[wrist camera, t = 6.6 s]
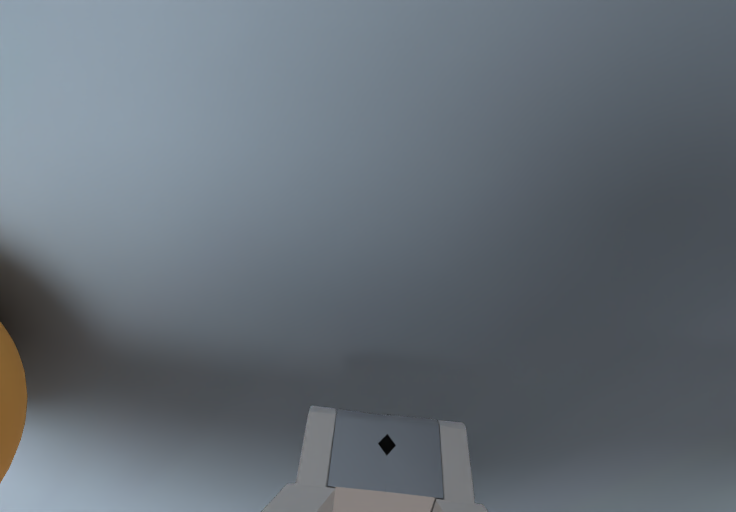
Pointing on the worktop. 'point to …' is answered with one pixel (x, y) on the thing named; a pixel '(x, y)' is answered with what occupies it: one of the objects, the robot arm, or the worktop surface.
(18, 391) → the ball
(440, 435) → the robot arm
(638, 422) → the worktop surface
